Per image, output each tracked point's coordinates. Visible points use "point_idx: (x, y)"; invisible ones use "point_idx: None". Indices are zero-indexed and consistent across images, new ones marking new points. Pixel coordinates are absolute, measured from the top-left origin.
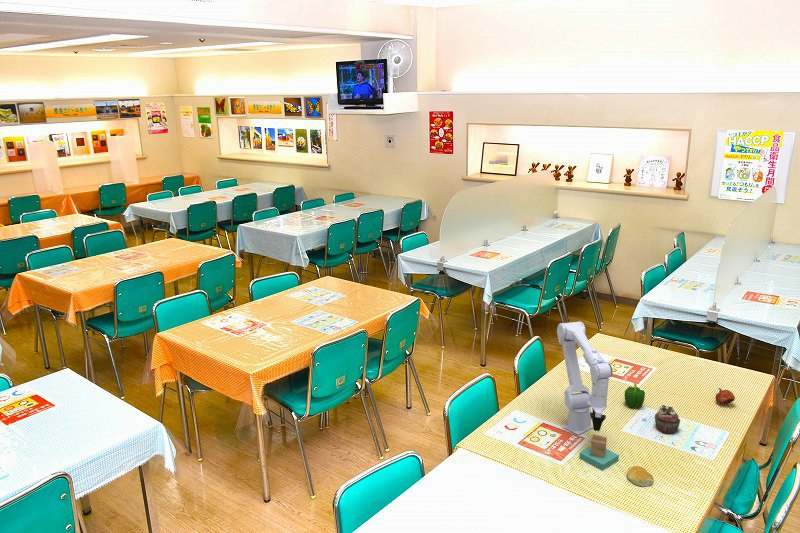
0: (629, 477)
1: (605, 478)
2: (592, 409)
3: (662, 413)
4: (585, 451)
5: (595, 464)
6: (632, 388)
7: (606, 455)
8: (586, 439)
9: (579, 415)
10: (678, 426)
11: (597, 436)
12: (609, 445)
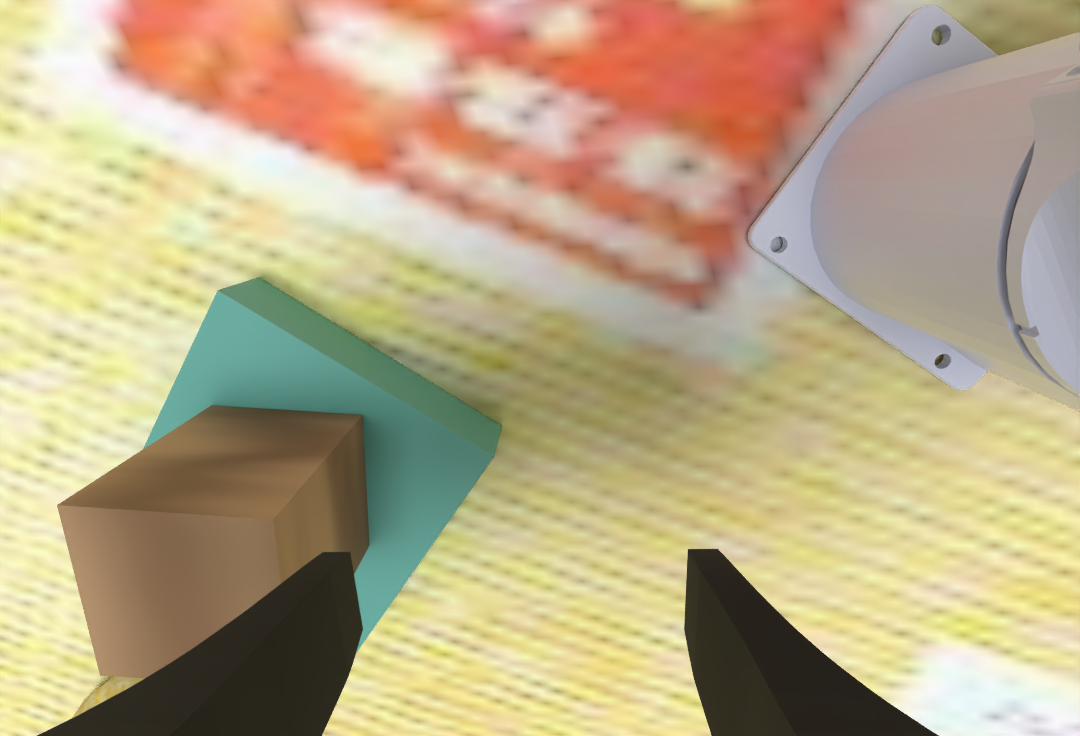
0: (102, 692)
1: (54, 511)
2: (777, 714)
3: None
4: (268, 352)
5: None
6: None
7: None
8: (675, 332)
9: (960, 263)
10: None
11: (245, 579)
12: (618, 544)
